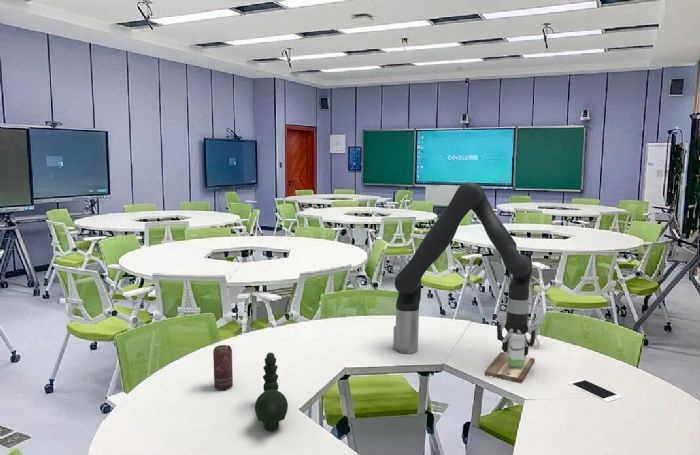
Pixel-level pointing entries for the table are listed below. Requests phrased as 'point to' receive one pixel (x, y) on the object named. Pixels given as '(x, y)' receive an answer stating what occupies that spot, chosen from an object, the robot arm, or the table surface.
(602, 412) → the table surface
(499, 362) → the floorboard
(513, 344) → the ink box
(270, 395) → the dark green knobbed piece
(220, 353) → the can
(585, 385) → the cell phone
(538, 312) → the dna model
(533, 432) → the table surface
